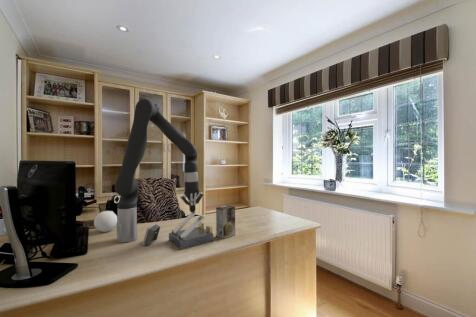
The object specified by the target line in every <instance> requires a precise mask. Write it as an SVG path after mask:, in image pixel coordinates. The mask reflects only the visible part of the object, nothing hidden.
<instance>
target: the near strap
mask: <svg viewBox="0 0 476 317" xmlns="http://www.w3.org/2000/svg"><path fill="white" fill-rule="evenodd" d="M204 220H205V216H203V215H200V216H199V217H198V218H196V220H195V221H194V222H193V223H192V224H190V226H188V227H187V228H186V229H187V230H186V229H184V230H185V231H184V232H183V233H182V234H181V235H180V238H181V239H182V237H186V236H187V235H188V234H189V233H190V232H191V231H192V230H193V229H194V228H195V227H198V224H199V223H200V222H203V221H204Z"/></svg>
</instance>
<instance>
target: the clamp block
mask: <svg viewBox="0 0 476 317" xmlns="http://www.w3.org/2000/svg"><path fill="white" fill-rule="evenodd" d="M187 229H188V228H185V229H182V230H180V231H179V232H176V233H175V234H174V233H173V231H174V230H175V229H173V230H172V229H171V232H169V233H168V241H169V242H170V243H171V244H172V245H174V246H175V247H176V248H178V249H179V250H181V251H182V250H185V249H188V248H193V247H195V246H200V245H203V244H207V243H212V242H214V233H213V227H212V226H210V225H206V226H205V223H204V222H203V221H201V222H200V223H199V224H198V225H197V226H196V227H195V228H194V229H193V230H192V231H191V232H190V233H189V234H188V235H187V236H186V237H182V239H181V238H180V235H181V234H182V233H183V232H184V231H185V230H187Z"/></svg>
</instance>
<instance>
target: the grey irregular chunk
mask: <svg viewBox="0 0 476 317" xmlns="http://www.w3.org/2000/svg"><path fill="white" fill-rule="evenodd" d="M160 229H161V226H160V225H157V223H156V222H154V223H152V224H151V225H149V226H148V227H147V228H146V230H145V234H144V238H143V241H142V246H145V245H146V246H151V245H153V244H154V243H155V242H156V241H157V240H158V236H159V232H160Z"/></svg>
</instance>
